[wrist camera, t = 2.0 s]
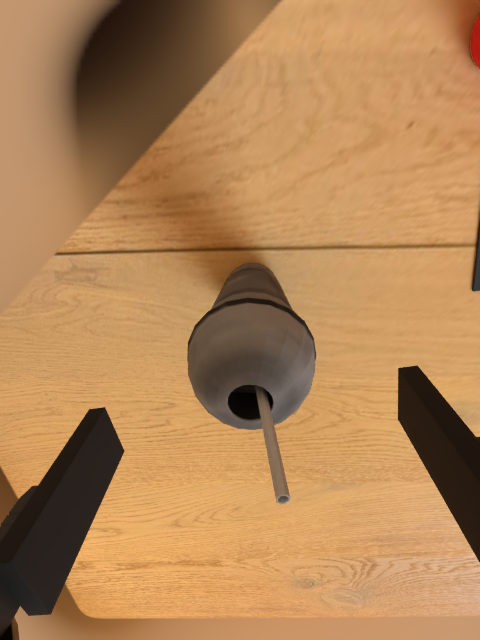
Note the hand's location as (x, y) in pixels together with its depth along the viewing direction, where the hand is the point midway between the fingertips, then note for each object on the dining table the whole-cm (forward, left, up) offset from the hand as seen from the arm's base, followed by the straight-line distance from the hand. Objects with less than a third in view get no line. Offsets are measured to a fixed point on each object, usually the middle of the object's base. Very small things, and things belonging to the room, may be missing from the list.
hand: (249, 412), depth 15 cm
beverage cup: (0, 0, -16) cm, 16 cm away
